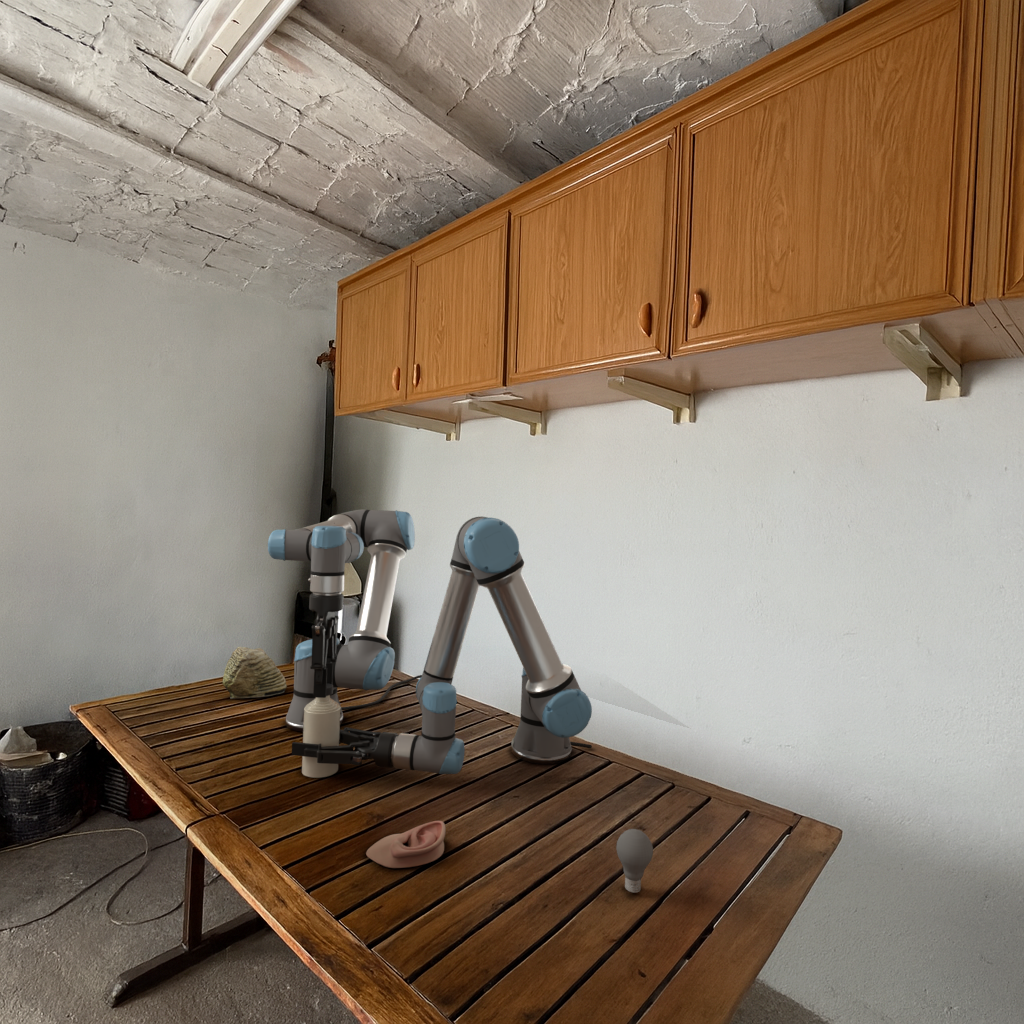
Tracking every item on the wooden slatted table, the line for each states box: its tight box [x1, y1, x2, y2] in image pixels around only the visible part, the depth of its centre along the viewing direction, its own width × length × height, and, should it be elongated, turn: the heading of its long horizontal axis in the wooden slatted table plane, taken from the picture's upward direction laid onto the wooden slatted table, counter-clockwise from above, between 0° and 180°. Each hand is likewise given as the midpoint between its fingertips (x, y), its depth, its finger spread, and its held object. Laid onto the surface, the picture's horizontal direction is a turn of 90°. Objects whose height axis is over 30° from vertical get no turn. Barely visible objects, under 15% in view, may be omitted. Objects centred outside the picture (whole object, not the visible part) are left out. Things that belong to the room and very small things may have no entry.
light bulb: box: [615, 828, 654, 894], centre depth 106 cm, size 6×6×10 cm
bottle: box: [301, 695, 342, 779], centre depth 146 cm, size 8×8×19 cm
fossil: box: [222, 646, 288, 699], centre depth 198 cm, size 9×18×15 cm, turn 132°
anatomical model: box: [365, 820, 447, 869], centre depth 114 cm, size 13×4×12 cm
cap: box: [313, 683, 333, 696], centre depth 146 cm, size 4×4×2 cm
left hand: (323, 693), depth 146 cm, fingers closed on cap, 4 cm apart
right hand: (301, 741), depth 147 cm, fingers closed on bottle, 8 cm apart
